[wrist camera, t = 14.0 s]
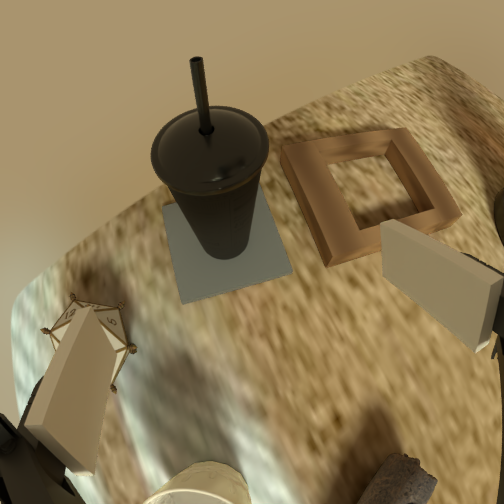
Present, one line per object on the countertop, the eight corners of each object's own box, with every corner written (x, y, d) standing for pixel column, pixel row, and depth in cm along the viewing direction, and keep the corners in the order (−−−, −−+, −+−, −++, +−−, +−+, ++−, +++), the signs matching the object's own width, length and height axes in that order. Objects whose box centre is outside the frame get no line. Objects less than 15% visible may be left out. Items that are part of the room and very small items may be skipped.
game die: (136, 364, 30) (133, 423, 21) (62, 352, 28) (36, 405, 18) (144, 286, 29) (139, 326, 20) (63, 272, 27) (27, 305, 17)
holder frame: (398, 141, 38) (405, 127, 36) (450, 226, 33) (462, 214, 30) (280, 162, 36) (282, 145, 34) (325, 268, 31) (332, 256, 28)
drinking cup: (219, 193, 34) (195, 21, 15) (277, 230, 32) (303, 52, 13) (171, 244, 31) (94, 81, 13) (230, 289, 29) (198, 129, 11)
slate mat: (258, 185, 35) (258, 180, 34) (291, 273, 31) (292, 270, 30) (163, 210, 34) (161, 206, 33) (183, 304, 29) (181, 302, 29)
